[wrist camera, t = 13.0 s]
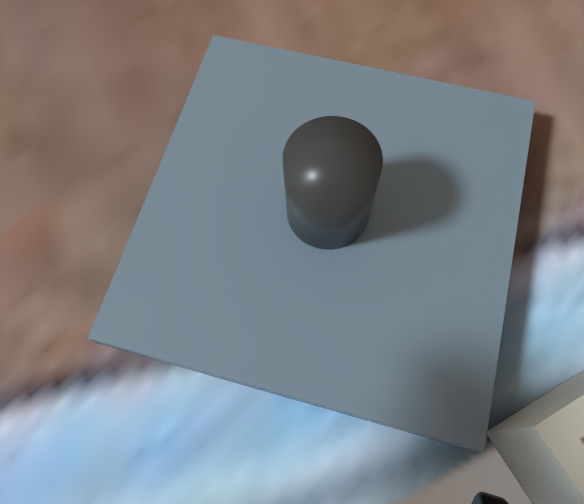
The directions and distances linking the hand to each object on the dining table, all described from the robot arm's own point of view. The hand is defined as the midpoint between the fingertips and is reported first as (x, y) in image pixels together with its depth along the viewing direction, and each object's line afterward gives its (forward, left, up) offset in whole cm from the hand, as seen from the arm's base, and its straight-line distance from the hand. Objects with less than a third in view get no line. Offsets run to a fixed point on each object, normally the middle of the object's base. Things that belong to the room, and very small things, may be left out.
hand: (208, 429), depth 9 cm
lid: (+7, +7, -14) cm, 17 cm away
